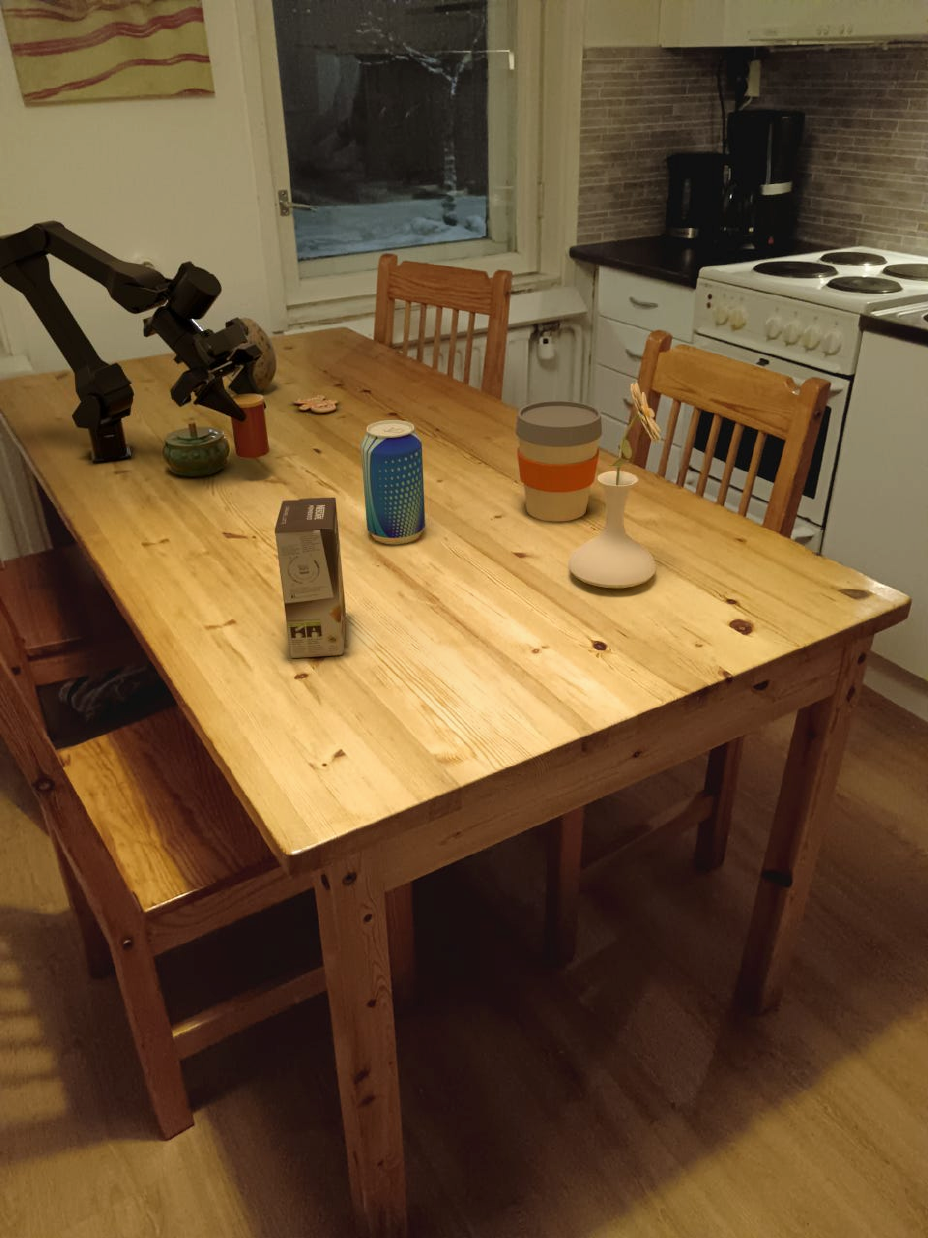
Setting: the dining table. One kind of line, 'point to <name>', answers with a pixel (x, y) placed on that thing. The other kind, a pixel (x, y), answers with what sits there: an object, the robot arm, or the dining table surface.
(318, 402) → the cookie
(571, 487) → the reusable coffee cup
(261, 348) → the decorative egg
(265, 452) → the tea canister
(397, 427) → the beer can
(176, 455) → the lidded pot
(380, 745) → the dining table surface
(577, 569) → the flower in vase
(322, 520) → the coffee box
